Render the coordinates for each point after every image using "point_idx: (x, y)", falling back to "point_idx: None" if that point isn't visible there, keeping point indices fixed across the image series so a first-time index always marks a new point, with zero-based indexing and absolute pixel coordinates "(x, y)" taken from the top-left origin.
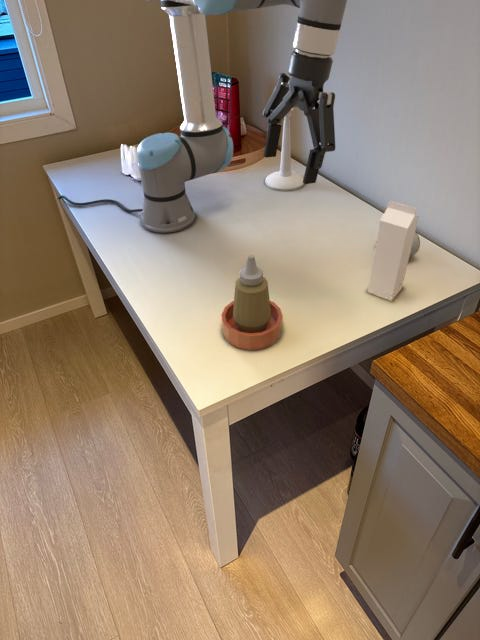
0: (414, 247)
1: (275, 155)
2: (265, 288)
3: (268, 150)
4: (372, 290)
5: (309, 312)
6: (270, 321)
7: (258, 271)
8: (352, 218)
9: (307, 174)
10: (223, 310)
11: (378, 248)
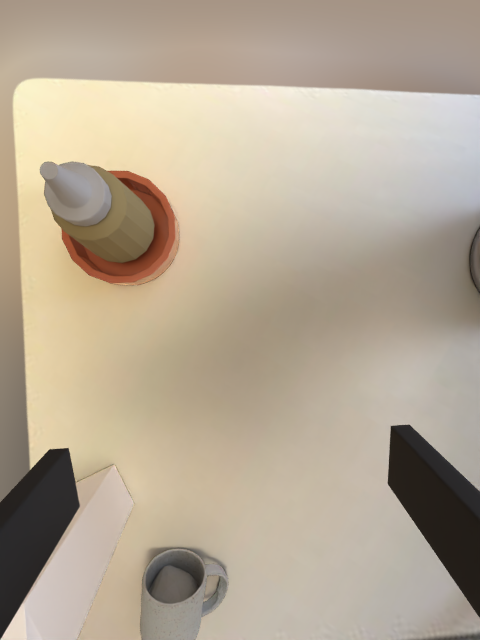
0: (140, 622)
1: (391, 485)
2: (54, 219)
3: (411, 460)
4: (103, 471)
5: (118, 344)
6: (124, 269)
7: (65, 206)
8: (330, 585)
9: (14, 487)
10: (157, 188)
11: (62, 536)
